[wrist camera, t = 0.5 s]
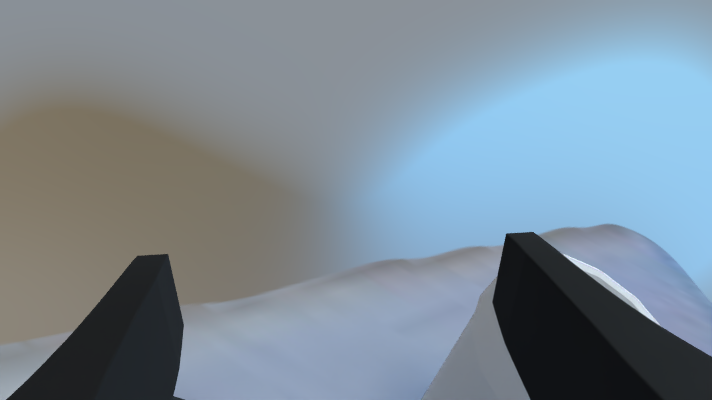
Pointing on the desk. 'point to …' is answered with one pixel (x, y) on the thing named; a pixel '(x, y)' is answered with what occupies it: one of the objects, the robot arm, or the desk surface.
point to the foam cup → (497, 351)
